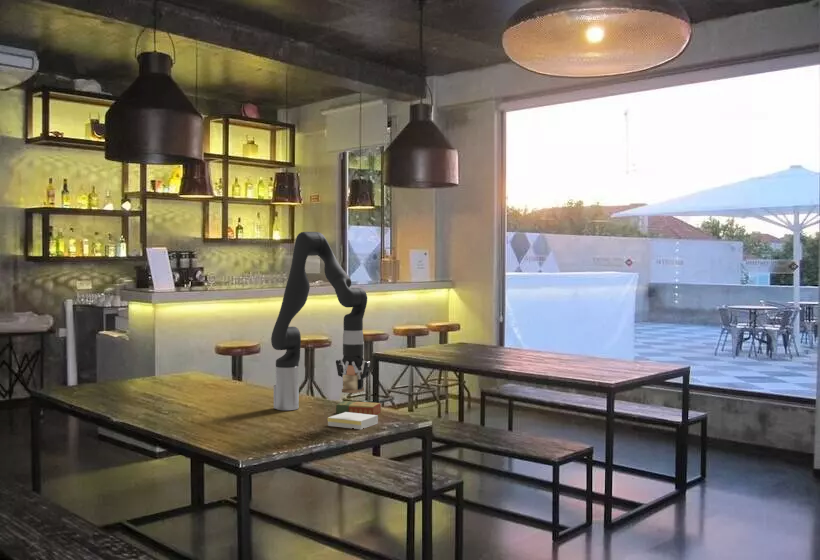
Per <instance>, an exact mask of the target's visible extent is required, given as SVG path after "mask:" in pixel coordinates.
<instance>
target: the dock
mask: <svg viewBox="0 0 820 560" xmlns="http://www.w3.org/2000/svg"><path fill="white" fill-rule="evenodd" d="M377 424H379V414H377V415H370V414H361V413H351V412H344V413H341V414H334V415H331V416H328V417H327V426H328V427H336V428H337V427H338V428H345V429H352V428H354V430H364V429H366V428H370V427H372V426H374V425H377ZM363 428H364V429H363Z"/></svg>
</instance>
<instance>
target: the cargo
mask: <svg viewBox="0 0 820 560" xmlns="http://www.w3.org/2000/svg"><path fill="white" fill-rule="evenodd" d="M347 375H357V374H356V373H355V370H354V367H353V365H348V368H347Z"/></svg>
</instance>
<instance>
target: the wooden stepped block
mask: <svg viewBox="0 0 820 560" xmlns="http://www.w3.org/2000/svg"><path fill="white" fill-rule="evenodd" d="M364 391H365V387H364V386H363V388H362V389H361V390H358V377H357V375H347V374H346V375H343V378H342V388H341V393H346V394H357V393H360V392H364Z"/></svg>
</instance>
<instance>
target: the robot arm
mask: <svg viewBox="0 0 820 560" xmlns="http://www.w3.org/2000/svg"><path fill="white" fill-rule="evenodd" d="M309 256H311V257H313V256H318V257H319V258H320V259H321V260H322V261H323V263H324V275H325V278H326V279H327V281H328V282H329V283H330V285H331V286H332V287H333V289H334V292H335V294H336V298H337V300H338V302H339V304H340V305H341V306H342V307H345V308H351V312H349V313H347V314H345V315H344V317H343V333H342V355H343V357H342V359H336V360H335V365H336V371H337V375H338V377H341V378H342V379H343V375H346V374H347V368H348V365H353V367H354V370H355V373H356V374H357V377H358V390H361V389H362V388H363V387H364V379H366V378H369V374H370V369H371V365H372V362H371V361H367V360H365V359H364V331H363V329H364V316H365V311H366V308H367V303H368V295H367V291H366V290H365V289H364V288H362V287H351V286H352V279H351V278H350V276H349V275H348V274H347V272H346V271H345V270H344V268H343V267H342V266H341V264H340V263H339V261H338V259H337V257H336V256H335V254H334V251H333V249H332V248H331V246H330V244H329V241H328V239H327V238H326V237H325V235H324V234H323V233H322V232H320V231H302V232H299V233H298V234H297V236H296V238H295V242H294V245H293V252H292V260H291V264H290V265H291V266H290V270H289V275H288V278H287V281H286V286H285V288H284V293H283V298H282V302H281V305H280V310H279V313H278V316H277V318H276V322H275V323H274V326H273V329H272V332H271V337H270V339H271V340H270V341H271V342H270V343H271V346H272V348H273V349H274V350H275V351H285V353H284V354H283V355H282V356H280V357H279V358H277V359H275V384H273V409H275V410H277V411H295V410H298V409H299V407H300V406H299V404H300V401H299V398H300V397H299V396H300V395H299V393H300V392H299V391H300V388H299V387H300V385H299V382H300V380H299V377H300V376H299V374H300V373H299V369H300V367H299V365H300V364H299V363H300V359H301V347H302V346H301V345H302V343H301V342H302V340H301V339H302V337H301V332H300V330H299V328H298V327H296V326H290V324H291V322H292V321H293V319H294V318H295V317H296V315H297V314H298V313H299V312H300V311H301V310H302V309H303V307H304V306H305V305H306V303H307V300H308V295H309V292H310V288H311V285H310V280H309V277H308V275H307V272H306V264H307V263H306V262H307V259H308V257H309ZM343 365H344V366H343Z"/></svg>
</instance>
